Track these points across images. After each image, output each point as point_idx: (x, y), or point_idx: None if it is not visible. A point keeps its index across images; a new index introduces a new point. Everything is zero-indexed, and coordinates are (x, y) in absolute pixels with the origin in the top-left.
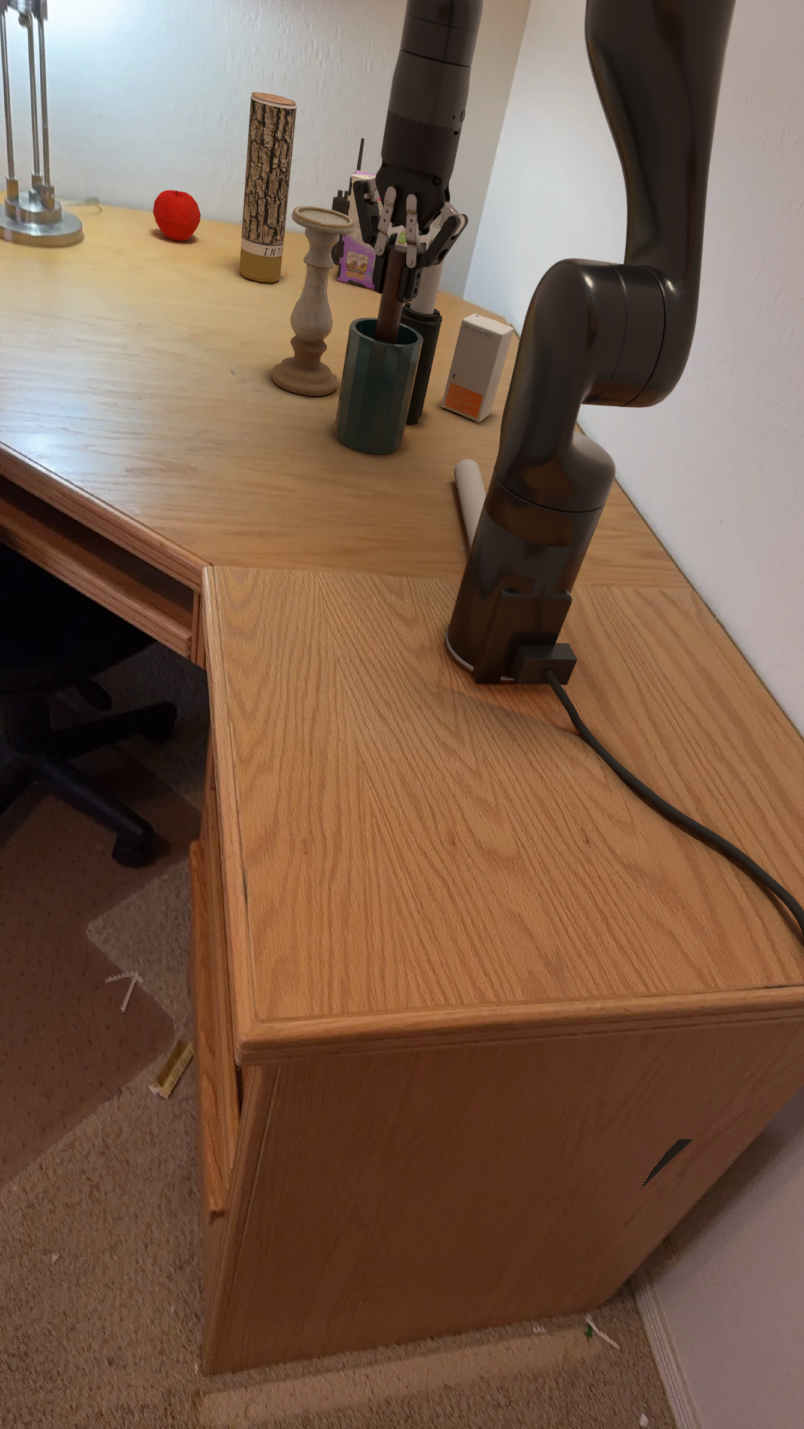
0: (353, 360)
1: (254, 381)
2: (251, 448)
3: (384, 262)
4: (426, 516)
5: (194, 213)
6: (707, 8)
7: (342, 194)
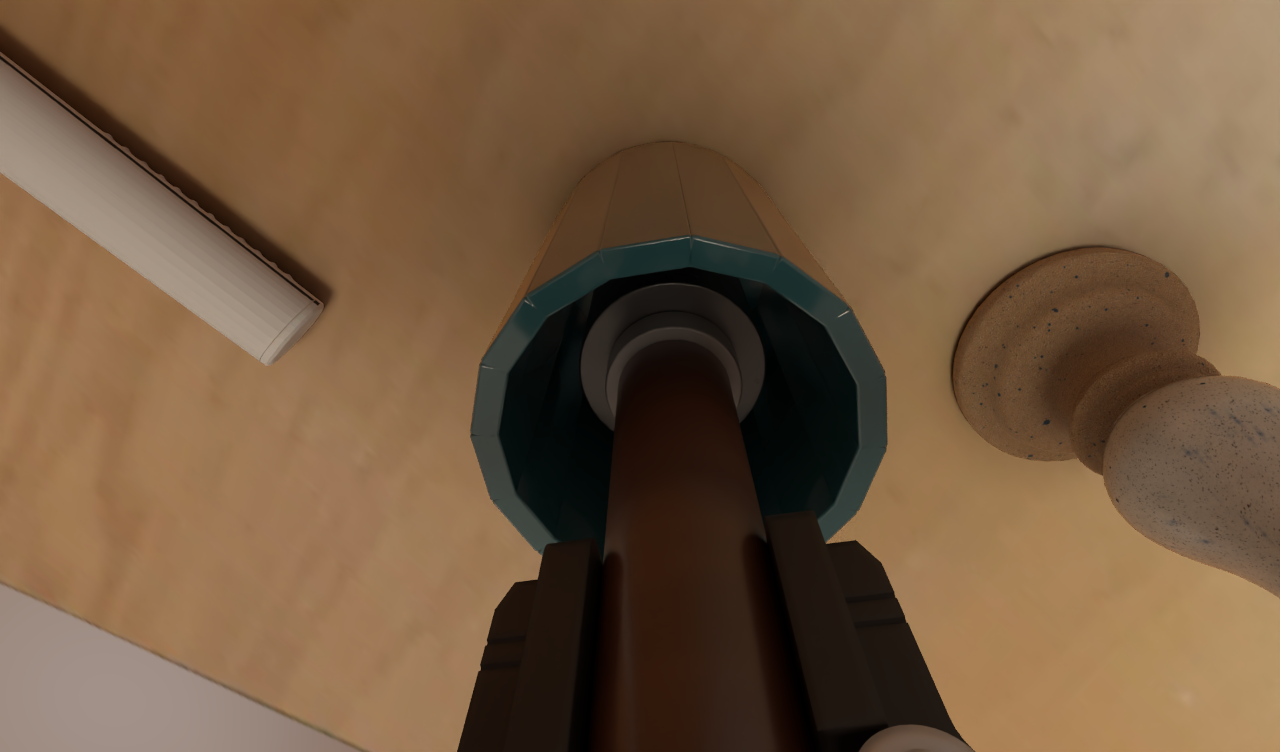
0: (708, 204)
1: (1191, 194)
2: None
3: (810, 705)
4: (161, 26)
5: None
6: None
7: None
